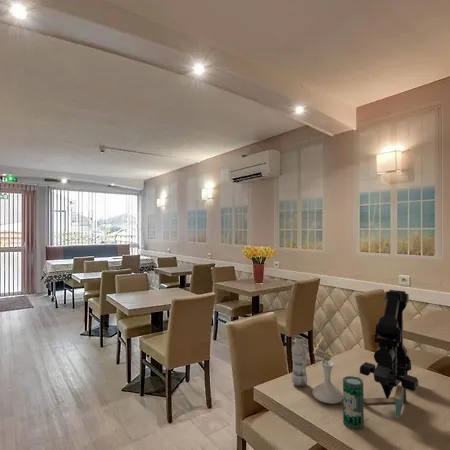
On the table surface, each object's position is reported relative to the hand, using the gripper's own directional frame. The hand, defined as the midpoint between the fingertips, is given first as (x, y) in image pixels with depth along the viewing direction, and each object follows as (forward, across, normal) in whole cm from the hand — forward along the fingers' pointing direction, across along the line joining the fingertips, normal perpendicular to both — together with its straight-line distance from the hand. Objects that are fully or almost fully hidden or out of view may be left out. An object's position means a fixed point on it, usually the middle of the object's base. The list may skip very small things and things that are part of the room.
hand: (387, 398), depth 117 cm
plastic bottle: (+4, -33, -8) cm, 34 cm away
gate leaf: (+2, +4, +1) cm, 5 cm away
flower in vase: (+4, -19, -10) cm, 22 cm away
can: (+4, -5, -19) cm, 20 cm away
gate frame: (+4, -3, +3) cm, 6 cm away
